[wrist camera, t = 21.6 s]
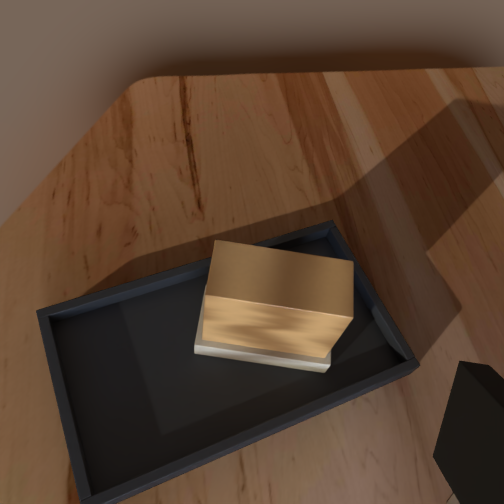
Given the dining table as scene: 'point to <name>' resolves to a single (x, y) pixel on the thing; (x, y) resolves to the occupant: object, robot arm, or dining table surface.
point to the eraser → (274, 306)
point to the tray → (193, 375)
